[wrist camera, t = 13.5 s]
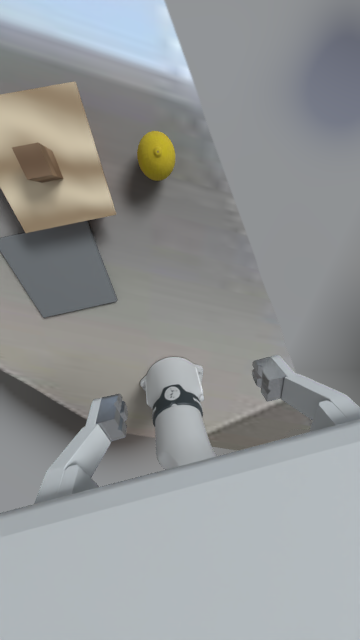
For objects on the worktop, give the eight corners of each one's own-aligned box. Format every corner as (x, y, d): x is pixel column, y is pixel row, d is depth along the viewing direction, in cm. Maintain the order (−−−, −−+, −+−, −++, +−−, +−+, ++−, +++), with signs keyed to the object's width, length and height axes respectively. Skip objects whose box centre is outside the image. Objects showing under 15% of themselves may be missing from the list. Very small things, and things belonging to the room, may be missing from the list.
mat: (117, 299, 43) (116, 301, 42) (45, 315, 42) (43, 317, 42) (86, 220, 35) (85, 220, 34) (-4, 238, 34) (-8, 239, 33)
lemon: (135, 175, 33) (132, 168, 26) (142, 133, 30) (141, 113, 23) (167, 188, 34) (172, 183, 27) (176, 149, 32) (184, 133, 25)
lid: (116, 214, 31) (112, 215, 27) (27, 232, 30) (10, 236, 26) (76, 84, 23) (62, 59, 19) (-42, 105, 23) (-81, 84, 19)
